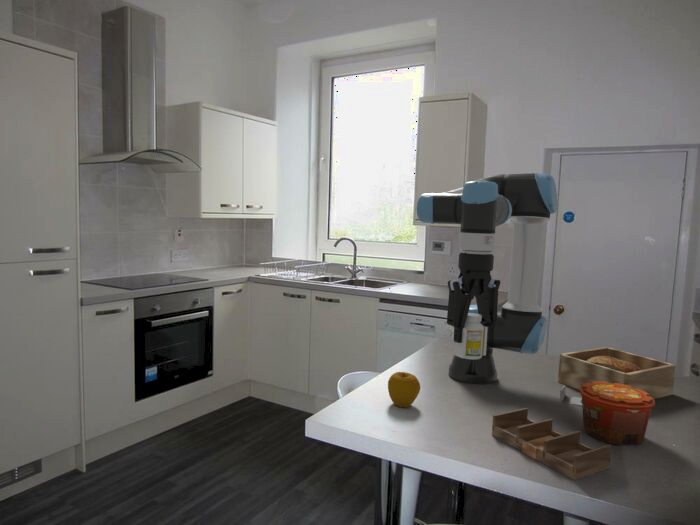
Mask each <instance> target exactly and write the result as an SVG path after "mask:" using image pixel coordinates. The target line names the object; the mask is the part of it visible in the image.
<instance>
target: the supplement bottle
mask: <svg viewBox="0 0 700 525" xmlns="http://www.w3.org/2000/svg"><path fill="white" fill-rule="evenodd" d="M481 321H482V315H480V314H476V313H468V315H467V319H466V323H465V326H464V328H465V329H467V341H466V358H465V359H480V358H481V357H482V351H483V336H484V326H483V325H482V324H480V322H481Z"/></svg>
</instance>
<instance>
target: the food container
mask: <svg viewBox="0 0 700 525" xmlns="http://www.w3.org/2000/svg"><path fill="white" fill-rule="evenodd" d="M578 391H579V393H580V395H581V398H582V406H581V407H582V408H581V409H582V410H581V411H582V426H583V427H582V428H583V430H584V432H585V433H586V434H587V435H589V436H591V437H592V438H594V439H596V440H598V441H601V442H605V443H608V444H610V445H611V444H612V445H618V446H622V447H623V446H625V447H633V446H634V447H636V446H639V445H641V444H643V442H644V440H645V437H646V436H645V435H646V432H647V427H648V424H649V420H650V417H651V412H652V409H654V408H655V407H656V401H655V399H653V398H652V397H650V395H649V394H648V393H647V392H645V391H643V390H640V389H634V388H632V387H631V386H628V385H624V384H619V383H614V384H611V383H607V382H603V381H594V382H591V383H585V384H584V385H583V386H581V387H580V388H579V390H578Z"/></svg>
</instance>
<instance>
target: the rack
mask: <svg viewBox="0 0 700 525" xmlns="http://www.w3.org/2000/svg"><path fill="white" fill-rule="evenodd" d="M528 415H529V408H528V407H524V408H519V409H515V410H511V411H506V412H501V413H497V414H493V415H492V429H491V436H494V438H497V439H499V440H500V441H502V442H504V443H506V444H508V445H509V446H512V447H513V448H515V449H517V450H519V451H520V452H521V453H523V454H525V455H527V456H528V457H530V458H532V459H534V460H537V461H539V462H541V463H542V462H543V464H544V465H547V467H550V468H552V469H553V470H555V471H557V472H559V473H561V474H563V475H564V476H566V477H569V478H570V479H572V480H574V481H576V480H579V479H581V478H585V477H588V476H591V475H593V474H597V473H598V472H602V471H605V470H608V469H610V466H611V465H610V464H611V455H612V445H611V444H610V443H608V444H606V445H605V444H604V445H602V446H599V447H596V448H593V447H590V446H588V445H586V444H583V443H582V442H580V441H581V431H579V430H577V431H572V432H569V433H565V434H563V433H560V432H557V431H556V430H553V422H554V420H553V419H552V418H548V419H544V420H543V419H542V420H541V421H534V420H532V419H530V418H528V417H529V416H528Z"/></svg>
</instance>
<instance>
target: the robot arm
mask: <svg viewBox="0 0 700 525" xmlns="http://www.w3.org/2000/svg"><path fill="white" fill-rule="evenodd" d="M557 208H558V194H557V185H556V182H555V179H554V177H553V176H552V175H551V174H549V173H538V172H535V173H499V174H495V175H490V176H486V177H483V178H478V179H476V180H473V181H466V182H465V183H464V184H463V187H459V188H456V189H452V190H449V191H444V192H438V193H434V192H431V193H422V194H421V195H420V196H419V198H418V199H417V202H416V216H417V218H418V220H419V221H420V222H421V223H424V224H430V225H433V224H439V225H441V224H442V225H443V224H444V225H446V224H447V225H460V229H459V231H460V233H459V243H458V244H459V246H458V250H460V251H461V252H460V253H458V262H457V263H458V265H457V267H458V269H459V271H460V272H459V275H458V277H457V279H455V280H448V281H447V287H448V301H447V302H448V304H447V315H446V324H447V325H449V326H451V327H453V342H454V343H455V344H454V354H453V357H452V360H451V363H450V364H449V367H448V376H450V378H452V379H454V380H457V381H458V382H463V383H468V384H475V385H476V384H478V385H480V384H481V385H482V384H483V385H486V384H493V383H495V382H496V381H497V379H498V371H497V369H496V363H495V360H494V349H495V350H496V349H497V350H503V351H508V352H509V351H510V352H516V353H519V354H527V355H535V354H538V353H539V352H540V350H541V348H542V346H543V343H544V340H545V337H546V333H547V327H548V319H547V317H545V316H543V315H542V314H543V309H542V308H541V307H540V305H539V304H538V301H539V300H538V299H539V286H540V276H541V275H540V274H541V266H542V264H541V263H542V251H543V238H544V226H545V224H547V223H548V222H549V221H550V220H551V214H553V215H554V214H555V213H556V212H557V210H558V209H557ZM509 219H510V221H512V223H513V231H512V241H511V243H512V244H511V253H510V266H509V267H510V268H509V279H508V280H509V281H508V291H507V292H508V293H507V301H506V302H505V303H504V304H503V305H501V310H499V311H498V306H499V305H498V303H499V288H500V285H501V280H500V279H495V278H493V277H492V275H491V272H492V271H493V270H494V259H495V256H494V254H493V253H494V251H495V245H496V244H495V242H496V229H497V228H496V227H498V226H501V225H504V224H505V223H507V222H508V221H509ZM474 298H475V300H476V304H472V300H474ZM468 313H476V314H480V315H482V321H481V322H480V324H482V325H483V326H484V336H483V351H482V357H481V358H480V359H465V358H466V341H467V329H465V328H464V326H465V323H466V319H467V315H468Z"/></svg>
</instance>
